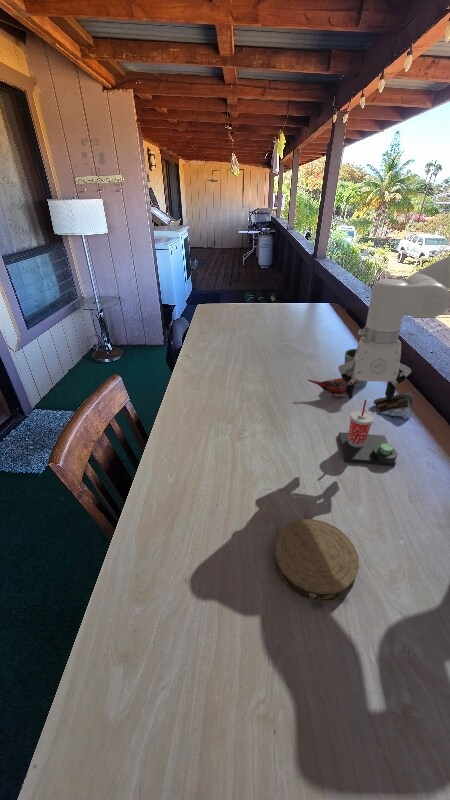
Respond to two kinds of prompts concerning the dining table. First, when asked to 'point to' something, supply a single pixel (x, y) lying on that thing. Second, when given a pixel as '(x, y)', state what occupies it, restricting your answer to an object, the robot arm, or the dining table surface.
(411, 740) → the dining table surface
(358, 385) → the green cylindrical pot
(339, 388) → the decorative bird figurine
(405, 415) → the chocolate cake
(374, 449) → the scale
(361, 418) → the beverage cup
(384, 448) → the tare button
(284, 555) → the wood log slice
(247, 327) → the dining table surface
